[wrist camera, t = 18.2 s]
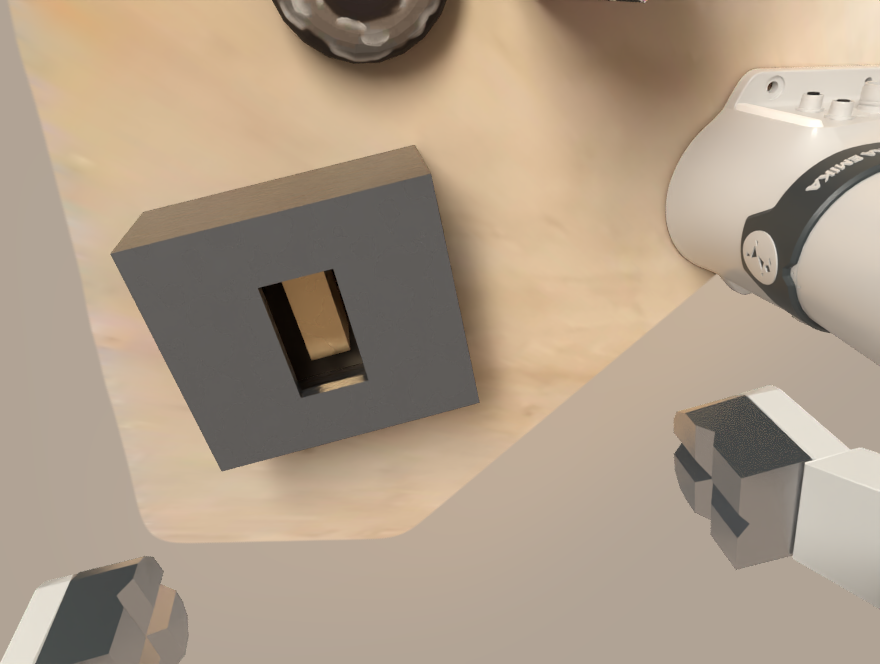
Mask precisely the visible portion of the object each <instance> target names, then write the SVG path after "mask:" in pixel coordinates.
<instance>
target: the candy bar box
mask: <svg viewBox="0 0 880 664" xmlns="http://www.w3.org/2000/svg"><path fill="white" fill-rule="evenodd" d="M608 1H609V0H608ZM612 1H626V2H641V3H646V2H647V1H648V0H612Z"/></svg>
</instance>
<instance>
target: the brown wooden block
mask: <svg viewBox="0 0 880 664" xmlns="http://www.w3.org/2000/svg"><path fill="white" fill-rule="evenodd" d="M282 284H283V287H284V289H285V292H286V295H287V297H288V300H289V303H290V305H291V308H292V310H293V313H294V316H295V318H296V321H297V323H298V326H299V329H300V331H301V334H302V337H303V339H304V342H305V344H306V347H307V350H308V352H309V355H310V357H311V360H315V359H319V358H323V357H326V356H330V355H334V354H337V353H341V352H345V351H348V350H350V340H349V328H348V319H347V316H346V313H345V310H344V307H343V304H342V301H341V298H340V295H339V292H338V289H337V286H336V283H335V280H334V277H333V274H332V271H331V269H330V270H326V271H323V272H319V273H315V274H311V275H307V276H303V277H299V278H295V279H291V280H287V281H283V282H282Z"/></svg>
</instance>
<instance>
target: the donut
mask: <svg viewBox="0 0 880 664" xmlns="http://www.w3.org/2000/svg"><path fill="white" fill-rule="evenodd" d="M272 1H273V3H274V5H275V6H276V8H277V10H278V12H279V14H280V15H281V17H282V19H283V21H284V22H285V23H286V24H287V25H288V26H289V27H290V28H291V29H292V30H293V31H294V32H295V33H296V34H297V35H298V36H299V37H300V39H301V40H302V41H303V42H305V43H306V44H308V45H310V46H311V47H313V48H315V49H316V50H318V51H319V52H321V53H323V54H324V55H326V56H328V57H331V58H335V59H339V60H342V61H346V62H350V63H376V62H382V61H384V60H387V59H390V58H393V57H395V56H398V55H401V54H403V53H405V52H406V51H407V50H409V49H410V48H411V47H413V46H414V45H415V44H416V43H418V42H419V41H420V40H422V39H423V38H424V37H425V36H426V34H427V33H428V32H429V30H430V29H431V27H432V26H433V25H434V23H435V22H436V21H437V19H438V18H439V16H440V15H441V13H442V10H443V8H444V5H445V2H446V0H272Z"/></svg>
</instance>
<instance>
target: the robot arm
mask: <svg viewBox="0 0 880 664" xmlns="http://www.w3.org/2000/svg"><path fill="white" fill-rule="evenodd" d="M771 82H772V87H771V89H770V90H769V91H767V87H768V85H769V84H770V83H771ZM666 222H667V227H668V231H669V234H670V237H671V239H672V241H673V243H674V245H675V247H676V248H677V249H678V251H679V252H680V253H681V254H682V255H683V256H684V257H685V258H686V259H687V260H689V261H690V262H691V263H693V264H695V265H697V266H699V267H701V268H704V269H707V270H709V271H712V272H714V273H716V274H718V275H719V276H720V277H721V278H722V279H723V280H724V282H725V283H726V284H727V285H728V286H729V287H730V288H731V289H732V290H734V291H736V292H738V293H740V294H744V295H746V294H750V293H753V294H755V295H757V296H759V297H761V298H762V299H765V300H766V301H768V302H770V303H772V304H774V305H776V306H778V307H780V308H782V309H784V310H786V311H787V312H788V313H790V314H791V315H792V317H793V318H795V319H797V320H798V321H800V322H802V323H804V324H807V325H809V326H811V327H812V328H815V329H817V330H820V331H823V332H828V333H832V334H834V335H835V336H836V337H838V338H839V339H841V340H842V341H844V342H845V343H847V344H848V345H850V346H851V347H853V348H854V349H855V350H857V351H858V352H860V353H861V354H863V355H864V356H866V357H867V358H869V359H870V360H872V361H873V362H874V363H876V364H877V365H879V366H880V65H854V66H821V67H789V68H758V69H753V70H750V71H748V72H747V73H746V74H745V75H744V76H743V77H742V78H741V79H740V80H739V82H738V83H737V85H736V87H735V88H734V90H733V92H732V93H731V95H730V97H729V99H728V101H727V103H726V105H725V106H724V108H723V109H722V111H721V112H720V113H719V114H718V115H717V116H716V117H715V118H714V119H713V120H712V121H711V122H710V123H709V124H708V125H707V126H706V127H705V128H704V129H703V130H702V131H701V132H700V133H699V134H698V135H697V136H696V137H695V138H694V139H693V141H692V142H691V143H690V145H689V146H688V147H687V149H686V150H685V152H684V153H683V155H682V157H681V158H680V160H679V162H678V164H677V166H676V168H675V170H674V173H673V175H672V178H671V181H670V184H669V188H668V192H667V198H666ZM674 433H675V435H676V436H677V437H678V438H679V440H680V441H681V442H682V443H681V445H680V446H679V448H678V449H677V451H676V452H675V454H674V463H675V472H676V476H677V479H678V483H679V486H680V489H681V491H682V492H683V494H684V496H685V498H686V500H687V501H688V503H689V505H690V506H691V508H692V509H693V510H694V512H695V513H697V514H699V515H701V516H703V517H706V518H708V519H710V520H711V536H712V537H713V539H714V540H715V542H716V543H717V544H718V546H719V547H720V548H721V550H722V551H723V553H724V554H725V555H726V557H727V558H728V560H729V561H730V562H731V563H732V565H733V566H734V568H735V569H736V570H737V569H741V568H745V567H749V566H753V565H757V564H761V563H765V562H769V561H773V560H777V559H780V558H784V557H788V556H792V555H793V559H794V560H796V561H798V562H799V563H801V564H803V565H805V566H806V567H808V568H810V569H812V570H813V571H815V572H817V573H818V574H820V575H822V576H823V577H825V578H827V579H829V580H830V581H832V582H834V583H836V584H837V585H839V586H841V587H843V588H844V589H846V590H848V591H849V592H851V593H853V594H854V595H856V596H858V597H860V598H861V599H863V600H865V601H866V602H868V603H870V604H872V605H873V606H875V607H877V608H879V609H880V454H879V453H876V452H873V451H870V450H867V449H864V448H861V447H860V448H857V449H853V450H850V449H849V448H848V447H847V446H846V445H844V444H843V443H842V442H841V441H840V440H839V439H837V438H836V437H835V436H834V435H833V434H832V433H830V432H829V431H828V430H827V429H826V428H825V427H823V426H822V425H821V424H820V423H819V422H817V420H815V419H814V418H813V417H812V416H811V415H809V414H808V413H807V412H806V411H805V410H804V409H803V408H802V407H800V406H799V405H798V404H797V403H795V401H793V400H792V399H791V398H790V397H789V396H788V395H787V394H785V393H784V392H783V391H782V390H781V389H779V388H778V387H775V386H772V385H768V386H765V387H761V388H758V389H754V390H751V391H747V392H744V393H741V394H739V395H735V396H731V397H728V398H724V399H721V400H717V401H713V402H710V403H706V404H703V405H699V406H695V407H692V408H689V409H685V410H681V411H678V412H676V415H675V418H674ZM163 572H164V571H163V570H162V568H161V567H160V566H159V564H158V563H157V561H156V560H155V559H154V557H147V556H143V557H139V558H135V559H131V560H127V561H124V562H119V563H115V564H111V565H107V566H103V567H99V568H95V569H91V570H87V571H83V572H79V573H78V574H74V575H70V576H66V577H62V578H57V579H53V580H49V581H45V582H44V583H43V584H42V585H41V586H39V587H38V588H37V589H36V590H35V592H34V594H33V597H32V598H31V600H30V603H29V605H28V607H27V609H26V611H25V613H24V615H23V617H22V619H21V621H20V623H19V625H18V627H17V630H16V632H15V634H14V636H13V638H12V640H11V642H10V644H9V646H8V648H7V650H6V652H5V655H4V657H3V659H2V661H1V663H0V664H178V663H179V662H180V660H181V659H182V658H183V657H184V655H185V653H186V647H187V641H188V617H187V613H186V610H185V607H184V604H183V601H182V599H181V598H180V596H179V595H178V593H177V592H176V590H173V589H171V588H169V587H166V586H164V585H162V584H160V583H161V580H162V576H163Z"/></svg>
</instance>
